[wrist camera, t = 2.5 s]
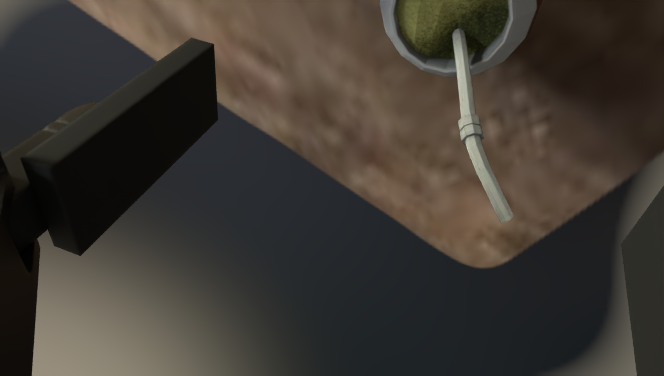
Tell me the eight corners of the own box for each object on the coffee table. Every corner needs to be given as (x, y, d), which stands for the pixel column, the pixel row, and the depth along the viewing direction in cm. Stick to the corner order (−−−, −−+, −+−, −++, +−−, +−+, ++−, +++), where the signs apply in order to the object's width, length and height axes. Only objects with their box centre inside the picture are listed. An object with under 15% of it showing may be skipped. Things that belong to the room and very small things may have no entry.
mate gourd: (425, -127, 25) (316, -45, 14) (589, -96, 23) (611, 22, 12) (396, 19, 30) (300, 162, 19) (530, 52, 28) (509, 228, 17)
